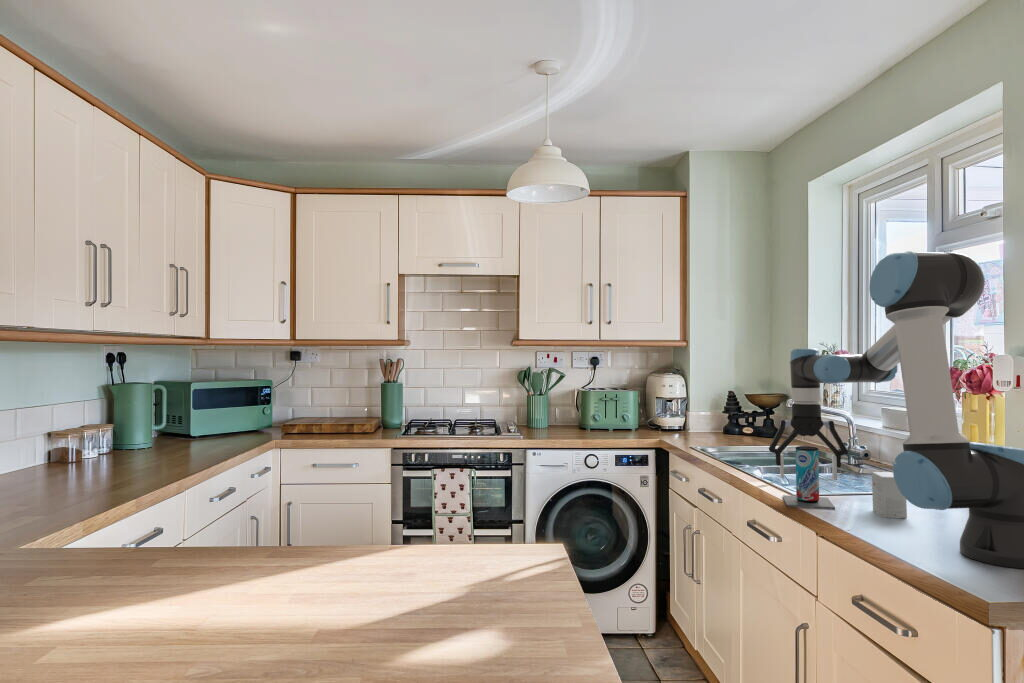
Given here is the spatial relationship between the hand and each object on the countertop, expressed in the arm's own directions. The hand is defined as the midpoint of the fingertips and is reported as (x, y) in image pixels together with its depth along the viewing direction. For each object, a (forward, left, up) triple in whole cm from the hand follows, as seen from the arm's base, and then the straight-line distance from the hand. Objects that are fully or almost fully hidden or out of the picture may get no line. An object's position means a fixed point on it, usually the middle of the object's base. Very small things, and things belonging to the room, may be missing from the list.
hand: (808, 478), depth 180 cm
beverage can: (0, 0, -7) cm, 7 cm away
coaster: (0, 0, -7) cm, 7 cm away
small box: (-8, -18, -7) cm, 21 cm away
